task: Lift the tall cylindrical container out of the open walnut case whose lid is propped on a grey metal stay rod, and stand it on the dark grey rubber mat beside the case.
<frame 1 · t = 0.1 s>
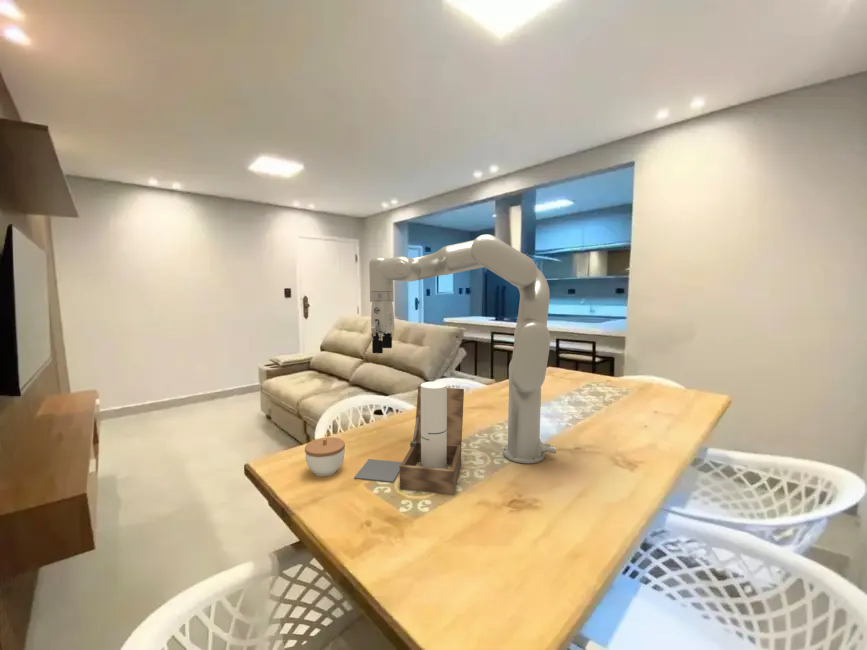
hand: (382, 350, 120), 31 cm above the table, tool pointing down, fingers open, 9 cm apart
mat: (380, 470, 105), on the table
cylindrical container: (433, 473, 104), resting in case
case: (432, 475, 102), on the table
lidded jar: (325, 471, 105), on the table
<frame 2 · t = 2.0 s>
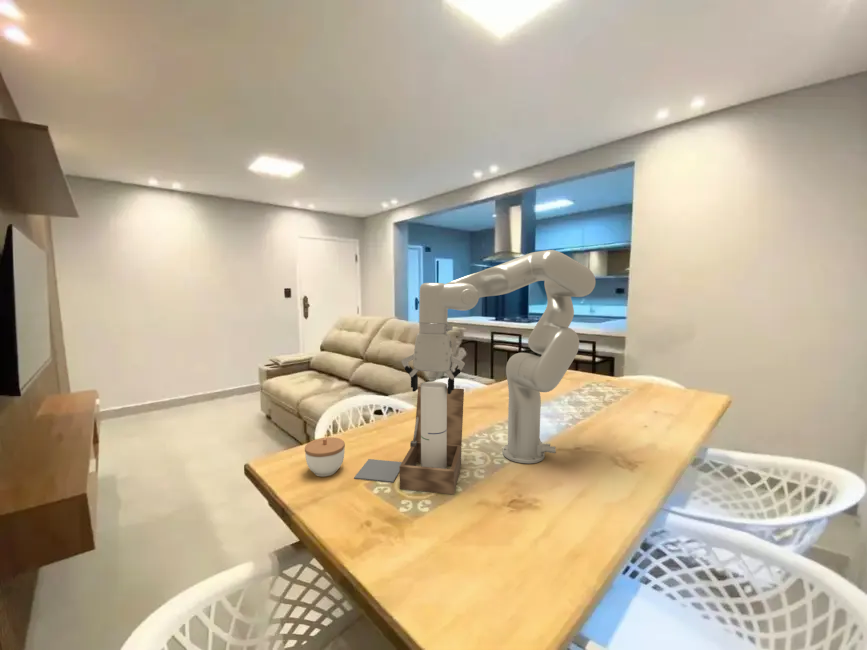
hand: (432, 391, 101), 23 cm above the table, tool pointing down, fingers open, 9 cm apart
nothing on the table moved.
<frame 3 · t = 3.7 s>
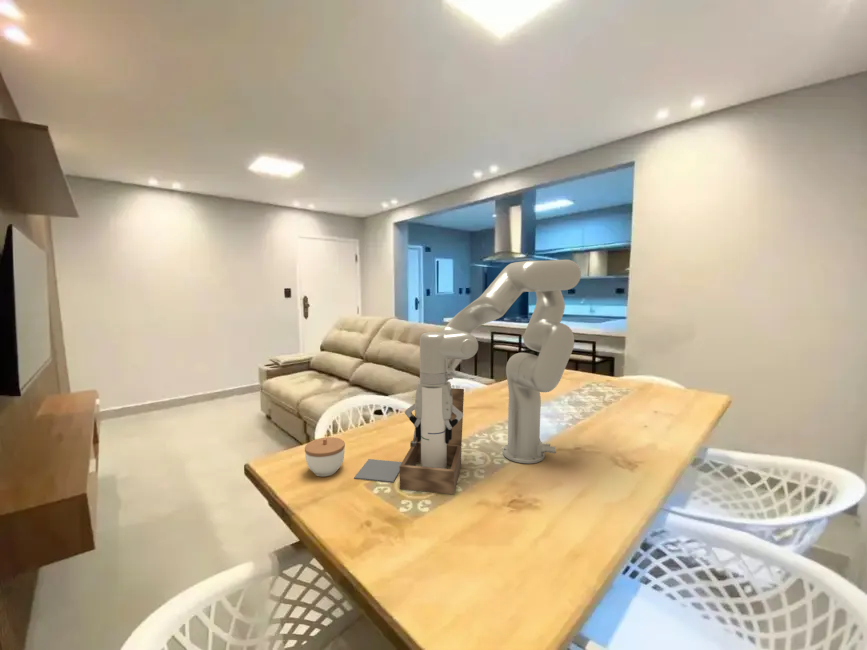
hand: (433, 440, 103), 9 cm above the table, tool pointing down, fingers closed on cylindrical container, 7 cm apart
cylindrical container: (433, 473, 104), resting in case, touching gripper
everything else where it was.
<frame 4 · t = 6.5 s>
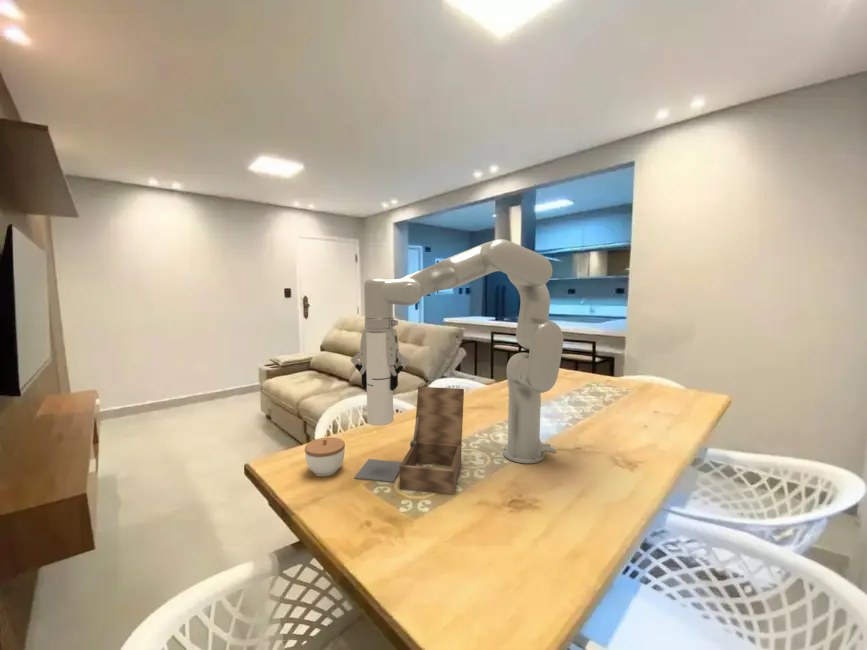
hand: (379, 388, 102), 24 cm above the table, tool pointing down, fingers closed on cylindrical container, 7 cm apart
cylindrical container: (380, 421, 103), point 14 cm above the table, touching gripper
everything else where it was.
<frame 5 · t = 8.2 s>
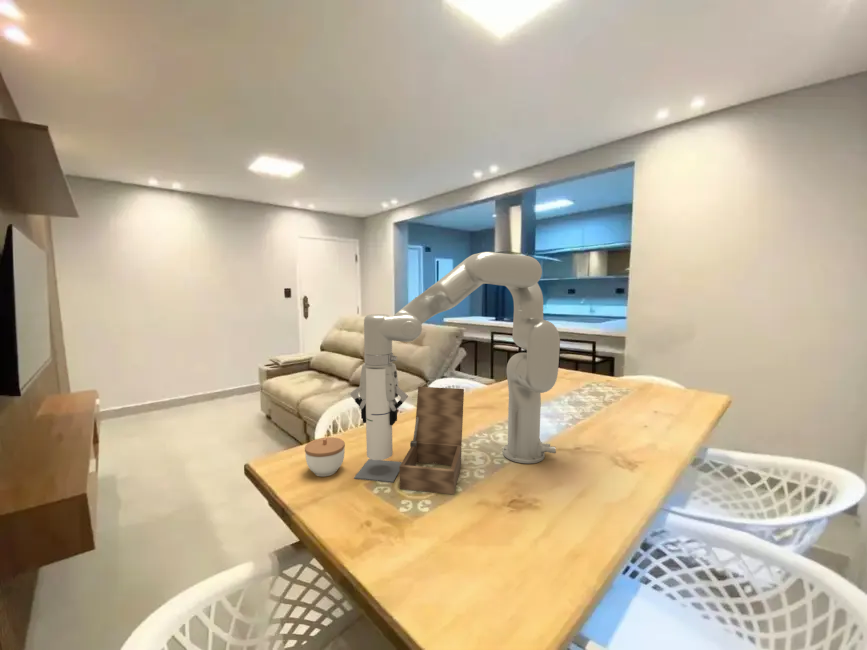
hand: (379, 422, 103), 14 cm above the table, tool pointing down, fingers closed on cylindrical container, 7 cm apart
cylindrical container: (379, 454, 104), point 5 cm above the table, touching gripper
everything else where it was.
when the fingers open (10 cm above the table, at t = 9.5 s): cylindrical container stays where it is, resting on mat.
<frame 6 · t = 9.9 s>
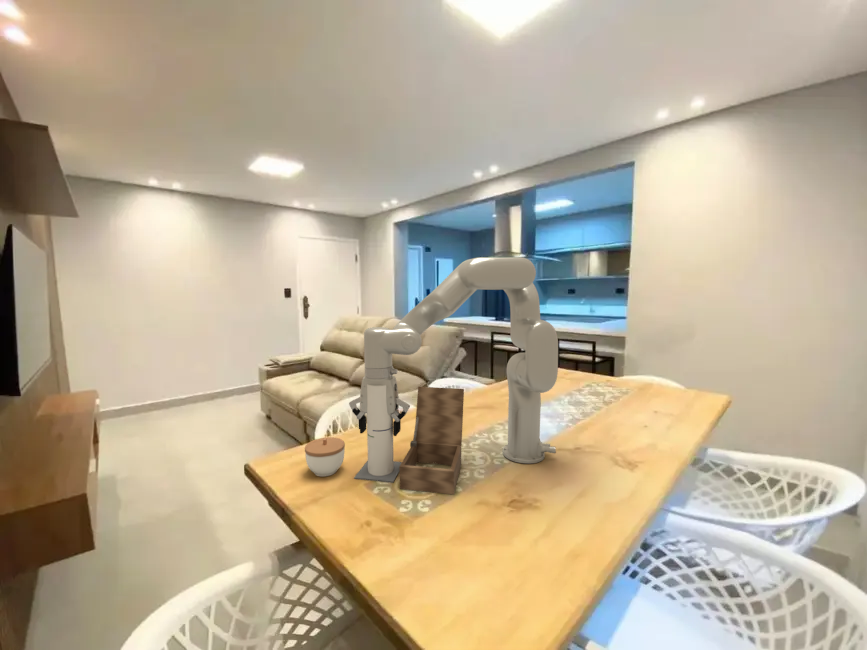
hand: (379, 432, 104), 11 cm above the table, tool pointing down, fingers open, 9 cm apart
cylindrical container: (380, 470, 105), resting on mat
everything else where it was.
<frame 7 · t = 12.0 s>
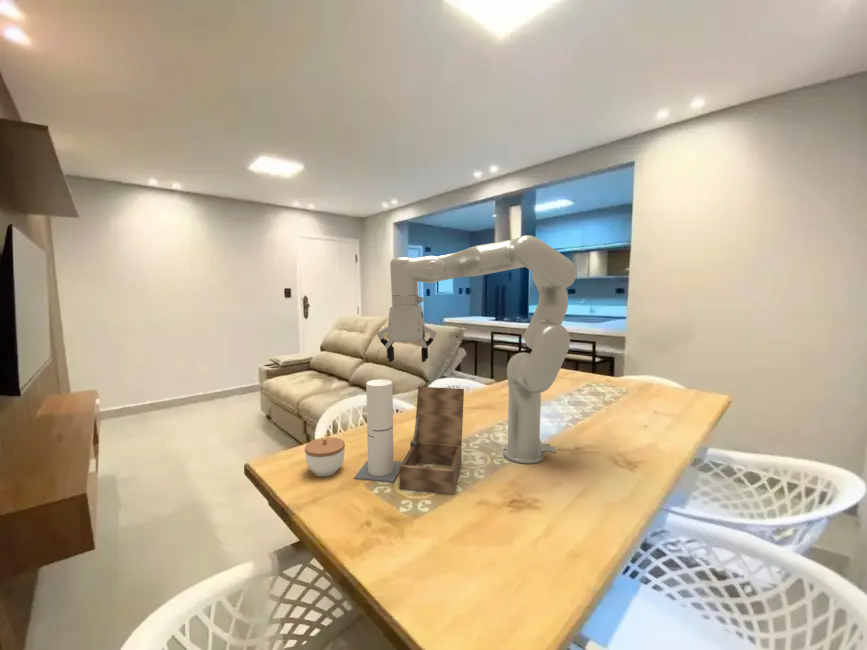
hand: (407, 361, 107), 30 cm above the table, tool pointing down, fingers open, 9 cm apart
nothing on the table moved.
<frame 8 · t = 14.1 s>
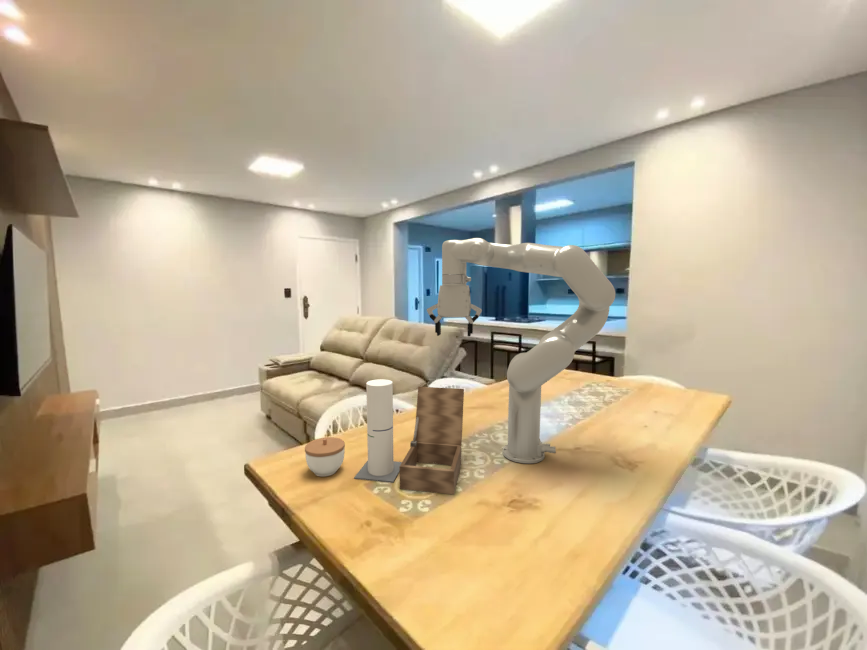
hand: (453, 335, 117), 36 cm above the table, tool pointing down, fingers open, 9 cm apart
nothing on the table moved.
at the end: cylindrical container inside the target area on the mat (0.2 cm from its centre), point 0.2 cm above the mat's base; cylindrical container tilted 0°; the gripper is holding nothing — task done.
